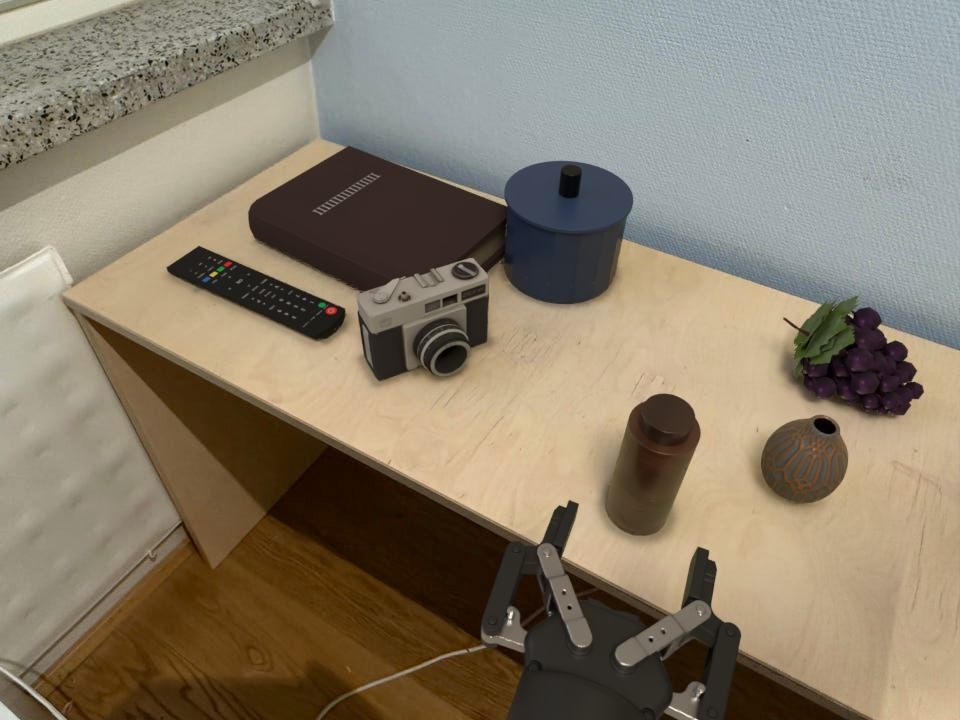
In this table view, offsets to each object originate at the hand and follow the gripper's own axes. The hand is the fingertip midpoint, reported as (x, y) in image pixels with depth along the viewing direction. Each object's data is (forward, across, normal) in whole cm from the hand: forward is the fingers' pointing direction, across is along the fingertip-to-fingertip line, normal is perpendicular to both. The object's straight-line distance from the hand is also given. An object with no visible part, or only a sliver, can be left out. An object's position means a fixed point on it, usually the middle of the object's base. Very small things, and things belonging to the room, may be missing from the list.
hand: (634, 530), depth 44 cm
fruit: (+34, -16, +14) cm, 40 cm away
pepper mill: (+11, 0, +14) cm, 18 cm away
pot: (+42, +17, +14) cm, 48 cm away
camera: (+21, +25, +14) cm, 36 cm away
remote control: (+22, +49, +14) cm, 56 cm away
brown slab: (+37, +40, +14) cm, 56 cm away
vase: (+20, -13, +14) cm, 27 cm away
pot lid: (+42, +17, +3) cm, 46 cm away
